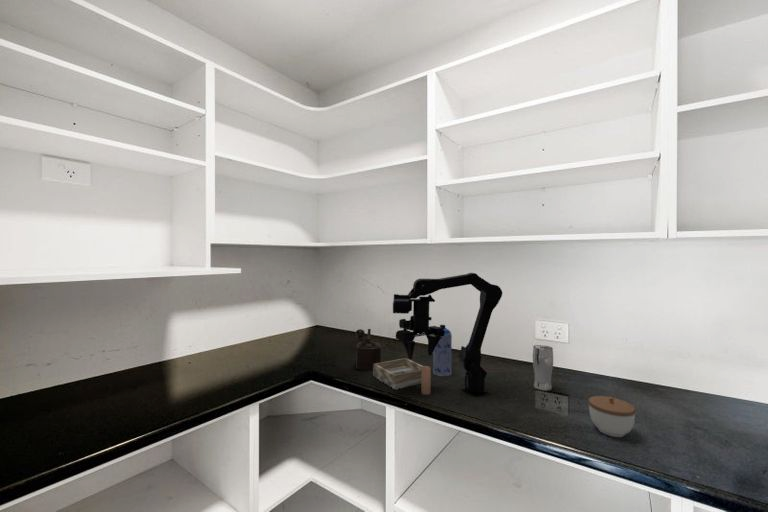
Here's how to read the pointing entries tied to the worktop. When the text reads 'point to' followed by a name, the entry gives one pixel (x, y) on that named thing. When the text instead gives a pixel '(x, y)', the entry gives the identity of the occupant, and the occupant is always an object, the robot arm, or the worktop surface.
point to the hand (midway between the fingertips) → (420, 357)
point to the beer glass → (543, 366)
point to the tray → (398, 373)
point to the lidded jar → (612, 415)
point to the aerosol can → (443, 354)
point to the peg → (425, 380)
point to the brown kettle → (366, 351)
